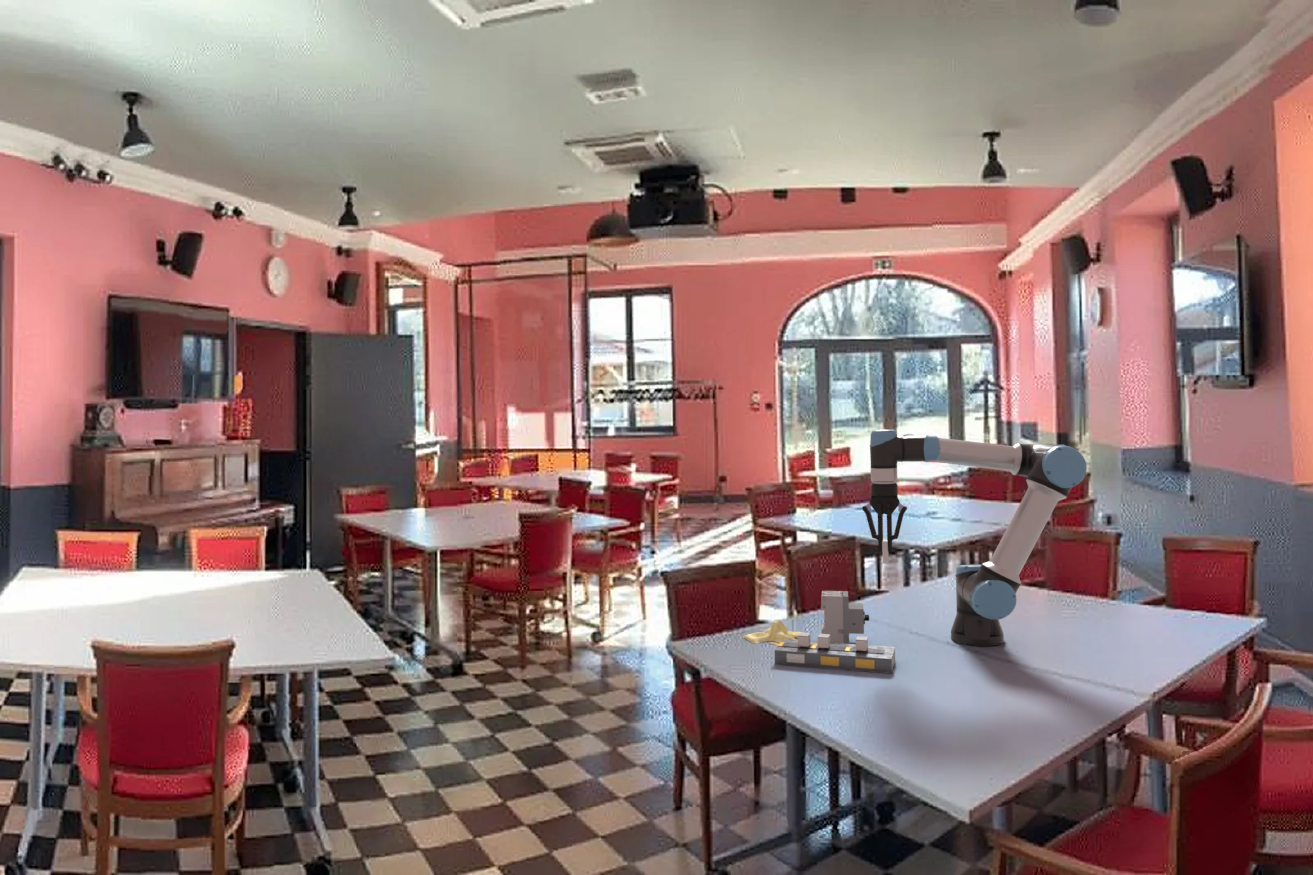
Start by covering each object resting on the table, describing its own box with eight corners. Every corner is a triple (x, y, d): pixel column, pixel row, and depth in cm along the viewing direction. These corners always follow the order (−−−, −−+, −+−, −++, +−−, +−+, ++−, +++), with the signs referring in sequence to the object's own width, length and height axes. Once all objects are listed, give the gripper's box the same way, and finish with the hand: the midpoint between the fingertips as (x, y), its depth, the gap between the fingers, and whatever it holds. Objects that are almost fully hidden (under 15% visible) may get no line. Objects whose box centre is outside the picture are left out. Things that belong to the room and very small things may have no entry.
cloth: (734, 642, 264) (734, 622, 264) (764, 629, 279) (763, 611, 279) (798, 653, 251) (798, 632, 251) (826, 638, 266) (825, 619, 266)
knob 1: (810, 643, 243) (810, 633, 242) (808, 646, 239) (808, 636, 239) (800, 642, 244) (799, 632, 244) (797, 645, 240) (797, 635, 240)
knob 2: (830, 644, 241) (830, 634, 241) (828, 648, 237) (828, 637, 237) (819, 644, 242) (819, 633, 242) (817, 647, 238) (817, 636, 238)
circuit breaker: (869, 646, 254) (869, 596, 254) (821, 644, 257) (820, 596, 256) (868, 639, 261) (868, 591, 261) (821, 638, 264) (821, 590, 264)
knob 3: (868, 647, 237) (867, 636, 237) (866, 651, 234) (866, 640, 234) (857, 646, 238) (857, 636, 238) (855, 650, 235) (855, 639, 235)
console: (895, 661, 239) (895, 646, 239) (891, 674, 227) (891, 658, 227) (783, 652, 250) (783, 638, 250) (774, 664, 238) (774, 649, 238)
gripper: (908, 481, 248) (909, 561, 249) (862, 481, 252) (864, 559, 253) (906, 483, 241) (907, 565, 242) (859, 483, 245) (861, 564, 246)
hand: (885, 562), depth 247 cm, fingers closed
